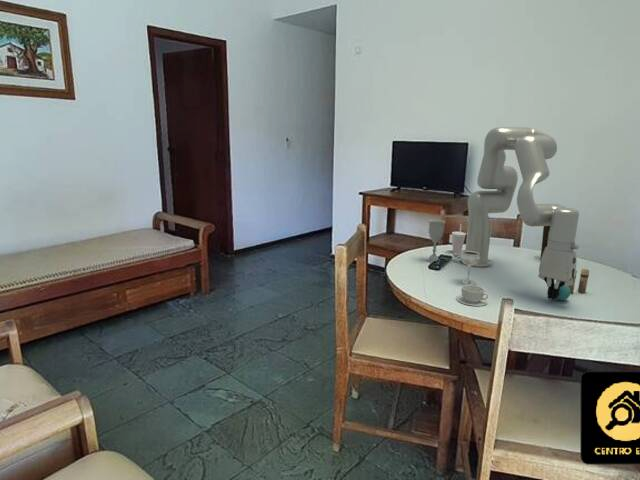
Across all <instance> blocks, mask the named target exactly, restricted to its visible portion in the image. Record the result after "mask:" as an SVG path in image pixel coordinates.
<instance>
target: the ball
mask: <svg viewBox="0 0 640 480" xmlns="http://www.w3.org/2000/svg"><path fill="white" fill-rule="evenodd" d="M554 286H555V283H554ZM570 296H571V294H570V288H569V287H568V286H565V285H564V286H562V287H560V290H559V296H558V297H557V298H555V299H554V300H557V301H565V300H567V299H568V298H570Z"/></svg>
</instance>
